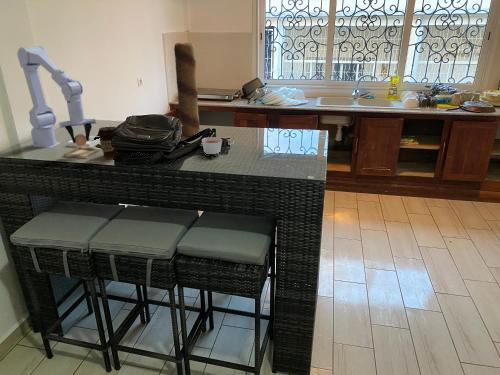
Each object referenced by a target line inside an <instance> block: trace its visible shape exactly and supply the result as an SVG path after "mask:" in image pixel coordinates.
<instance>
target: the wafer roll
mask: <svg viewBox="0 0 500 375" xmlns="http://www.w3.org/2000/svg"><path fill="white" fill-rule="evenodd" d="M194 46H195V45H194V44H193V43H191V42H190V43H186V42H183V43H182V42H175V43H174V46H173V47H174V48H173V49H174V50H173V51H174V60H175V74H176V75H175V76H176V88H177V94H178V96H177V99H178V100H177V101H178V119H179V122H180V121H181V123H182V125H183V126H182V134H181V135H182V136H183V137H194V136H193V135H194V134H196V133H198V132H200V130H201V129H200V126H201V125H200V123H201V122H200V117H199V105H198V103H199V101H198V95H199V94H198V85H197V84H198V83H197V71H196V70H197V66H196V62H197V61H196V56H195V54H196V53H195V47H194Z"/></svg>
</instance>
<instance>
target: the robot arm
mask: <svg viewBox="0 0 500 375" xmlns="http://www.w3.org/2000/svg"><path fill="white" fill-rule="evenodd" d="M16 55H17V58H18V63H19V65H20V68H21V69H22V70H23V74H24V78H25V81H26V84H27V88H28V91H29V95H30V98H31V99H30V100H31V102H32V105H33V107H32V108H31V109H30V110H29V111H28V114H29V124H30V125H31V126H32V128H31V132H30V135H31V139H32V143H33V144H32V147H38V148H49V149H51V148H53V147H56V146H57V145H60V144H61V142H60V141H59V142H58V141H57V138H56V134H55V133H56V132H55V128H54V127H55V126H56V125H55V124H56V123H57V116H56V115H55V113H54V110H53V108H52V107H51V106H48V105H47V103H46V98H45V95H44V91H43V88H42V85H41V81H40V76H39V73H38V68H39V67H40V66H41V67H43V69H45V70H46V71H47V72H48V73H50V74H51V76H50V78H51V80H53V81H54V82H55V83H56V84H57V86H59V88H61V94H62V95H63V97H64V100H65V101H66V105H67V111H68V116H69V120H66V121H62V122H61V121H60V122H58V125H59V128H60V129H63V128H65V130H66V131H67V133H68V134H69V136H70V137H71V140H72V141H73V143H75V136H74V128H73V127H77V126H78V127H79V126H83V128H84V132H85V136H86V138H87V141H89V136H90V133H91V130H92V127H93V125H97V120H96V118H85V116H84V108H83V103H82V95H83V89H84V88H83V86H82V84H81V83H80V81H79V80H76V79H73V78H72V77H70V75H68V74H67V73H66V72H65V70H64V69H62V68H58V67H57V66H56V65H55V63H54V62H53V60H51V59H50V57H49V54H48V51H47V50H46V49H45V47H44V46H41V45H39V46H29V47H22V46H21V47H19V48H18V50H17V52H16Z"/></svg>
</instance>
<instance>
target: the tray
mask: <svg viewBox="0 0 500 375" xmlns="http://www.w3.org/2000/svg"><path fill="white" fill-rule="evenodd" d="M101 151H102V148H99V147H80V146H79V147H75V148H72V149H71V150H69V151H66V152H65V153H63V157H68V158H76V159H77V158H78V159H88V158H90V157H93V156H94V155H96V154H97V153H99V152H101Z"/></svg>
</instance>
